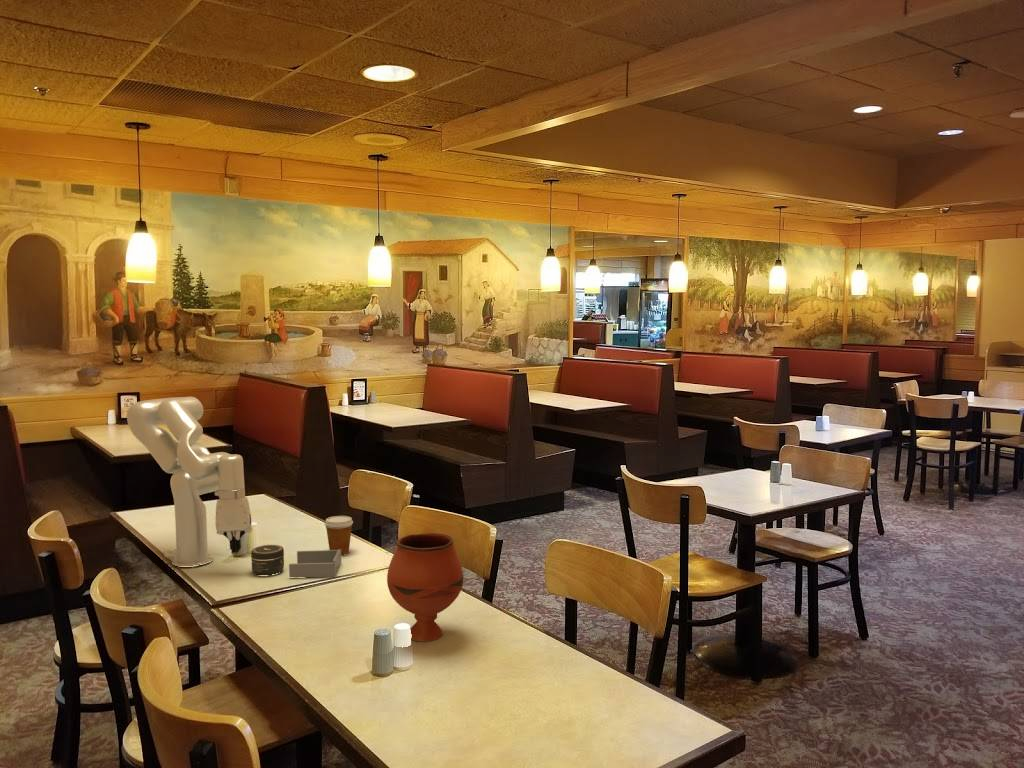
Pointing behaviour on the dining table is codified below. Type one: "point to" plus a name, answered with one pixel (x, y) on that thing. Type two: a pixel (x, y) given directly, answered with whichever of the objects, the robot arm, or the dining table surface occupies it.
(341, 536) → the disposable coffee cup
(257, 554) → the jar
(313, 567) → the bin
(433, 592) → the goblet
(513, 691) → the dining table surface
